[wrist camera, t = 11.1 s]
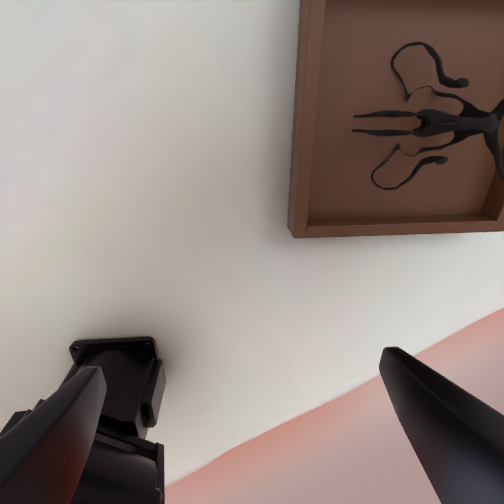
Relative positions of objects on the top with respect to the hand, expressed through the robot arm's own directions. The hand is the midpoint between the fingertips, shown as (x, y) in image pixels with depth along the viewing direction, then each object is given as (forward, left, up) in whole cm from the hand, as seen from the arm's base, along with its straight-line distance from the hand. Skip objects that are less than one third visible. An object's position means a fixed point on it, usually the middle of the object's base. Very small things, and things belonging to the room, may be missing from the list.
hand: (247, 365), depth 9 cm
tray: (+11, +7, -12) cm, 18 cm away
